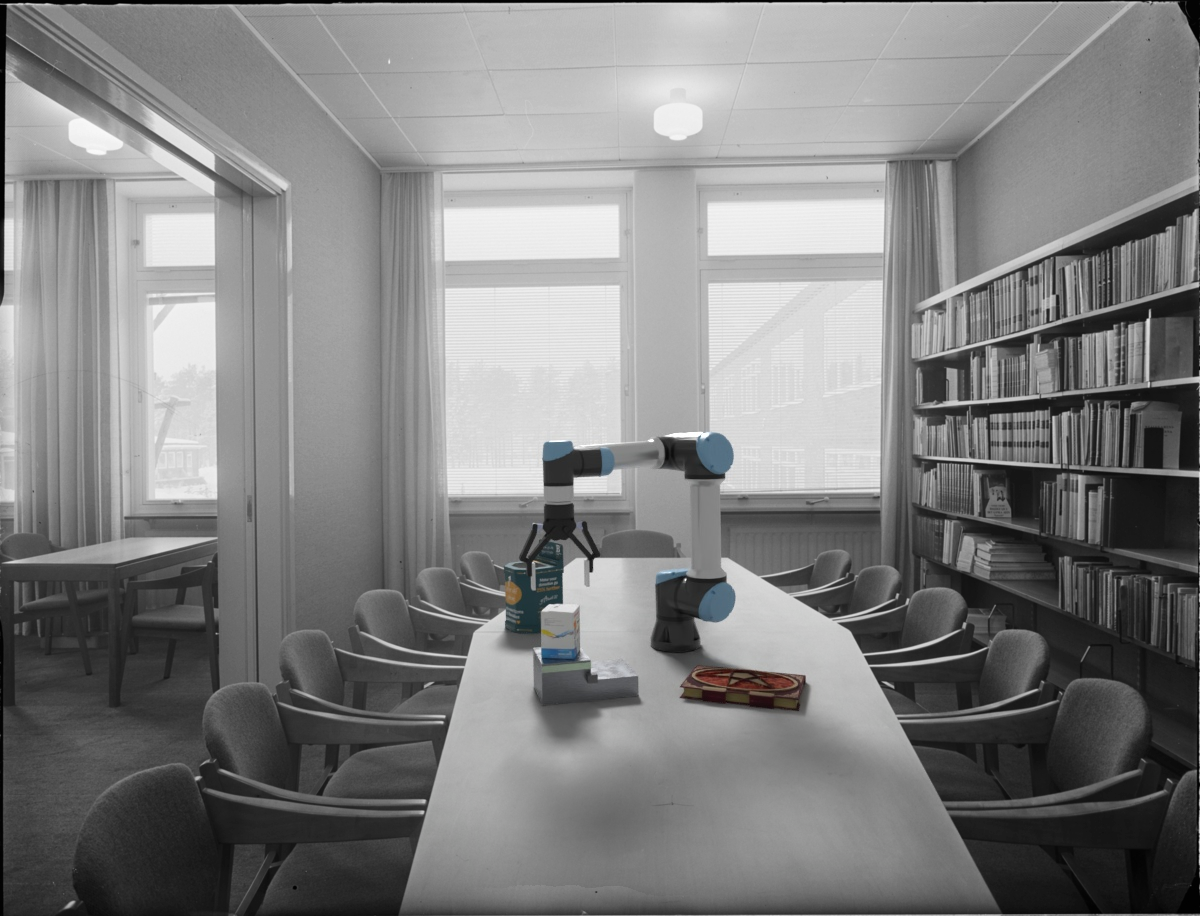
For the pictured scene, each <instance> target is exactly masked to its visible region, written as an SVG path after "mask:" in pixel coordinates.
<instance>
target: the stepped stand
mask: <svg viewBox="0 0 1200 916" xmlns="http://www.w3.org/2000/svg"><path fill="white" fill-rule="evenodd" d="M532 656H533V657H532V659H533V666H532V667H533V687H534V690H535V692H536V695H537V696H538V699H539V701H540V704H541V705H542V706H543V707H544V706H551V705H561V704H571V703H580V702H590V701H591V702H592V701H601V700H602V701H603V700H609V699H611V700H612V699H620V698H630V697H638V696H639V694H640V693H639V692H640V691H639V675H638V673H636V671H634V669H633V668H632V667H631V666H630V665H629V664H628V663H627V661H626V660H625V659H624V658H620V659H617V658H616V659H610V660H609V659H608V660H597V661H591V658H590V657H589V656H588V655H587V653H586V651H585V650H584V649H583V648H582V646H581V645H580V650H579V652H578V654H577V655H576V657H575V658H574V659H557V658H542V657H541V646H539V647H532Z"/></svg>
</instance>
